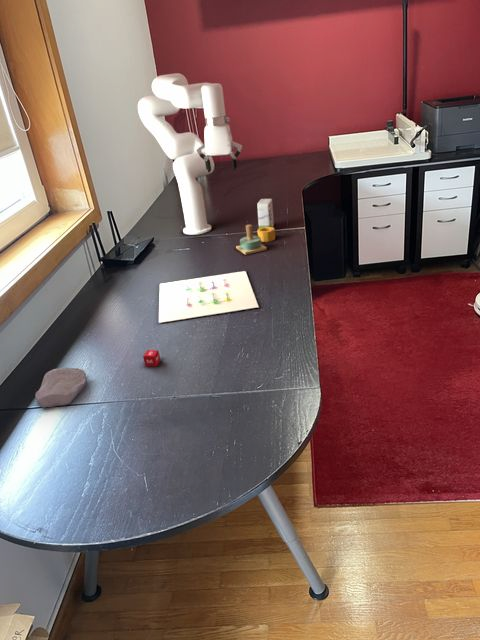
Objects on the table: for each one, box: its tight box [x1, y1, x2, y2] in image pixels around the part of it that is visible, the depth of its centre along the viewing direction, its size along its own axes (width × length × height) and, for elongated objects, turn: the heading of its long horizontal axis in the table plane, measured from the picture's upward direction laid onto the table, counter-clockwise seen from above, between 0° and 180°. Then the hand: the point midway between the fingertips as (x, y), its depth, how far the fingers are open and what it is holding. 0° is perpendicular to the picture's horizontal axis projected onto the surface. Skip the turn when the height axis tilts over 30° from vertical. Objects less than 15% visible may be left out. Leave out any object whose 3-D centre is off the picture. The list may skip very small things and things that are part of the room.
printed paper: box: [158, 270, 259, 324], centre depth 163 cm, size 30×30×2 cm
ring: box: [256, 226, 276, 243], centre depth 205 cm, size 7×7×4 cm
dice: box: [142, 349, 161, 367], centre depth 129 cm, size 3×3×3 cm
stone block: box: [35, 367, 87, 409], centre depth 121 cm, size 12×5×10 cm
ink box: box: [256, 198, 275, 229], centre depth 214 cm, size 9×5×12 cm, turn 168°
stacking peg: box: [235, 224, 268, 256], centre depth 195 cm, size 9×9×9 cm
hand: (221, 170), depth 193 cm, fingers open, 9 cm apart
